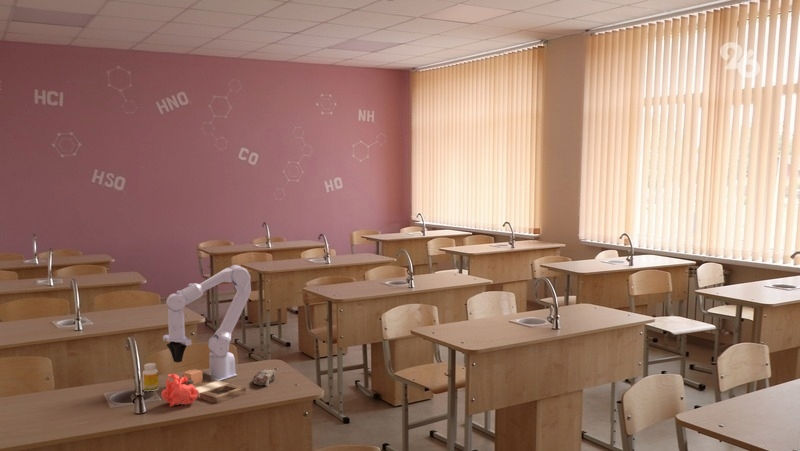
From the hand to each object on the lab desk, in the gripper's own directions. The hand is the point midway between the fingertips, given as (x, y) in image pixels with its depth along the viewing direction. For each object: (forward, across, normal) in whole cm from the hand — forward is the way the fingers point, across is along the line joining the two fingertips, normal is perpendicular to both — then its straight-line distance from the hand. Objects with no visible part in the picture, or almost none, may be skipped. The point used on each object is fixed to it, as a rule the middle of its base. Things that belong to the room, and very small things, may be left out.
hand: (177, 361), depth 256 cm
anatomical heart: (+9, +20, -14) cm, 26 cm away
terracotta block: (+6, +8, 0) cm, 11 cm away
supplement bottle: (+9, -2, -10) cm, 14 cm away
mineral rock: (+9, +25, +20) cm, 33 cm away
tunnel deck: (+8, +16, 0) cm, 18 cm away
